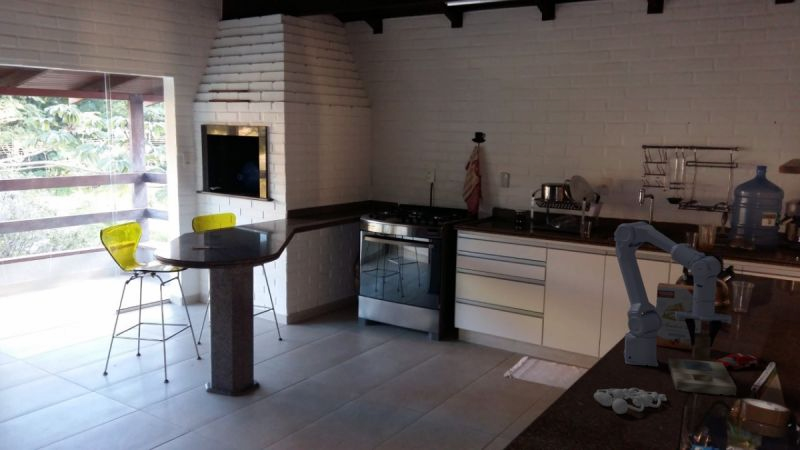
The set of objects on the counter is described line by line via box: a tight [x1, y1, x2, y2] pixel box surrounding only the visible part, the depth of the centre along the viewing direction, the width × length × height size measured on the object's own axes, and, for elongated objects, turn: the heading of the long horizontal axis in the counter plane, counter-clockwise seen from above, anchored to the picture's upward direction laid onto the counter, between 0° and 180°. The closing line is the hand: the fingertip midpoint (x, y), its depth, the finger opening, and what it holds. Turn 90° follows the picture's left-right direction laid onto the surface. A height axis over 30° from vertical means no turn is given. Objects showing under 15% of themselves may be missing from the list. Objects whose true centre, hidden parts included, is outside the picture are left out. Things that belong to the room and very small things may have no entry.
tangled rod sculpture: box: [593, 387, 668, 415], centre depth 168 cm, size 19×14×4 cm
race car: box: [715, 352, 760, 372], centre depth 194 cm, size 13×5×4 cm, turn 99°
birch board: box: [667, 357, 738, 397], centre depth 184 cm, size 15×20×3 cm
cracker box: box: [655, 282, 702, 351], centre depth 213 cm, size 14×6×21 cm, turn 62°
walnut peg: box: [691, 332, 711, 362], centre depth 183 cm, size 4×4×7 cm
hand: (701, 345), depth 183 cm, fingers closed on walnut peg, 4 cm apart
